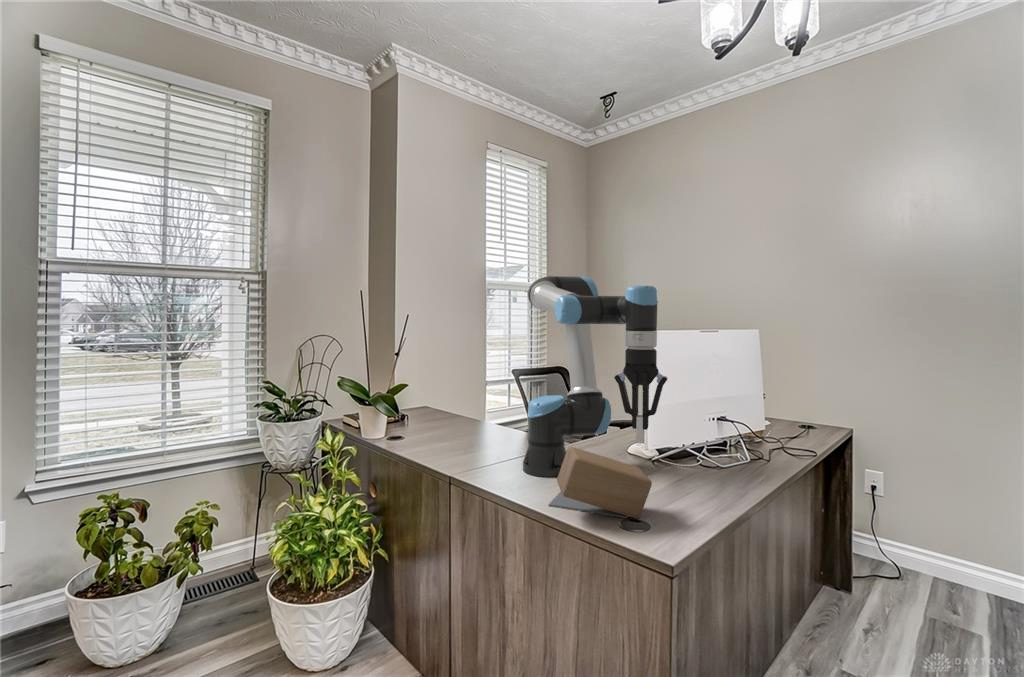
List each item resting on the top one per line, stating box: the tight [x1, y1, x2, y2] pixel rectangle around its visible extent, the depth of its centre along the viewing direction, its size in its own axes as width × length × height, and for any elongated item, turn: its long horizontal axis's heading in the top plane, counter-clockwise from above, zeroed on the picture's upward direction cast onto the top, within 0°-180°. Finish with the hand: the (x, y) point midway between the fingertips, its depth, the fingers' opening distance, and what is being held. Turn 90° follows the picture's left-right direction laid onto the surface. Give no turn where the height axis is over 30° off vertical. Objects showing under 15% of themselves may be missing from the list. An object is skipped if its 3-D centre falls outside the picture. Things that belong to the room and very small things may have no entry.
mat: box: [548, 491, 629, 519], centre depth 125 cm, size 20×13×1 cm, turn 67°
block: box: [556, 446, 653, 519], centre depth 118 cm, size 10×10×20 cm
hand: (640, 441), depth 120 cm, fingers closed
